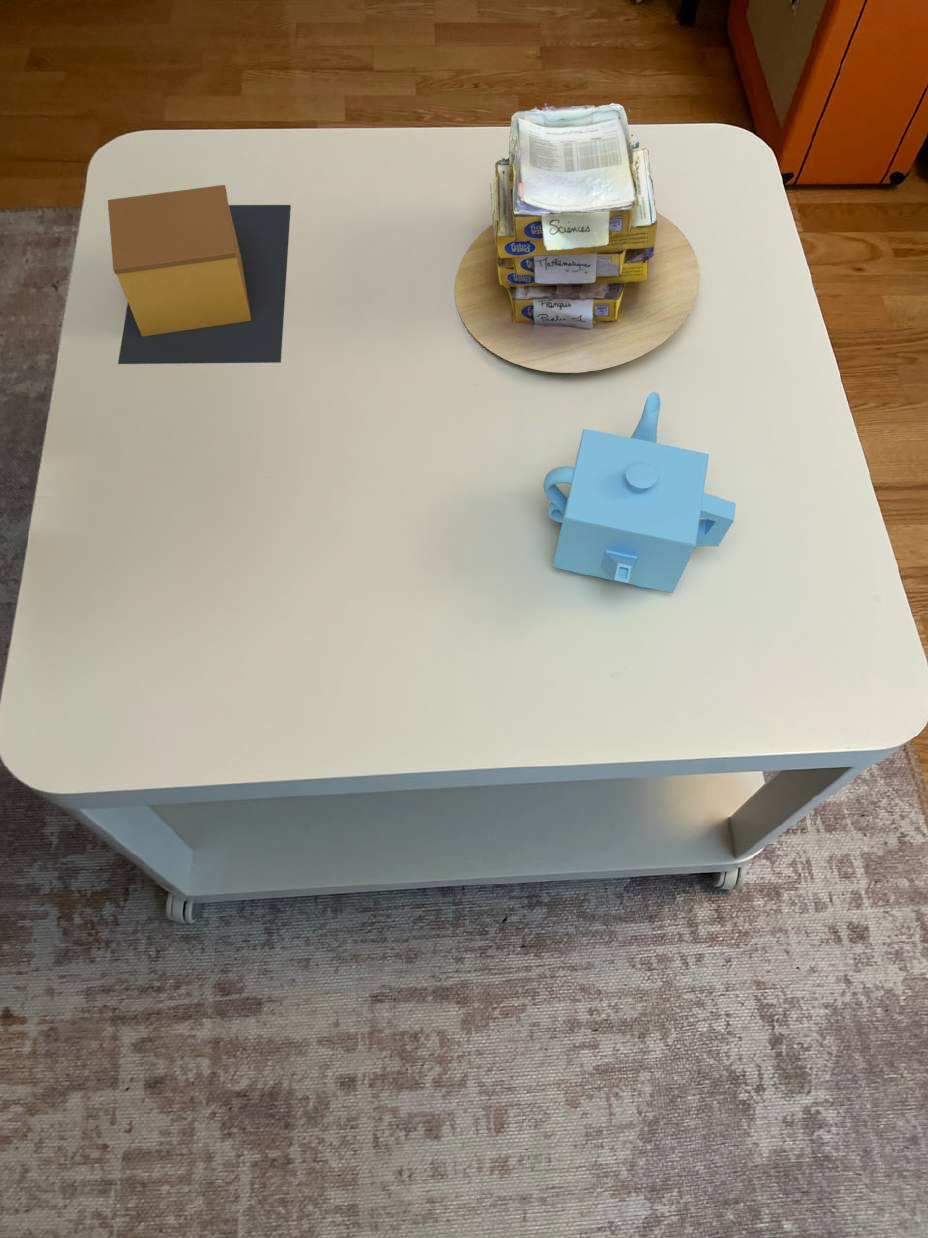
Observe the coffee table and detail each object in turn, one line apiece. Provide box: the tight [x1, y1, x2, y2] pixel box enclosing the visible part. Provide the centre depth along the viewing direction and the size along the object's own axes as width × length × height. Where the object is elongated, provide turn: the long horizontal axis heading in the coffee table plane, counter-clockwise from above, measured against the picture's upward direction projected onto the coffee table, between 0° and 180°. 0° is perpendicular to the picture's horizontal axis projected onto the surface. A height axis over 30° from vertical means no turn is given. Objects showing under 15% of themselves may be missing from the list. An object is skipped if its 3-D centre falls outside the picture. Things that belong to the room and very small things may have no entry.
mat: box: [117, 204, 292, 365], centre depth 98 cm, size 16×22×1 cm
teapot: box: [543, 391, 737, 594], centre depth 81 cm, size 16×18×11 cm
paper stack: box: [454, 102, 701, 374], centre depth 91 cm, size 25×25×17 cm
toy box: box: [107, 184, 251, 337], centre depth 93 cm, size 9×11×9 cm
